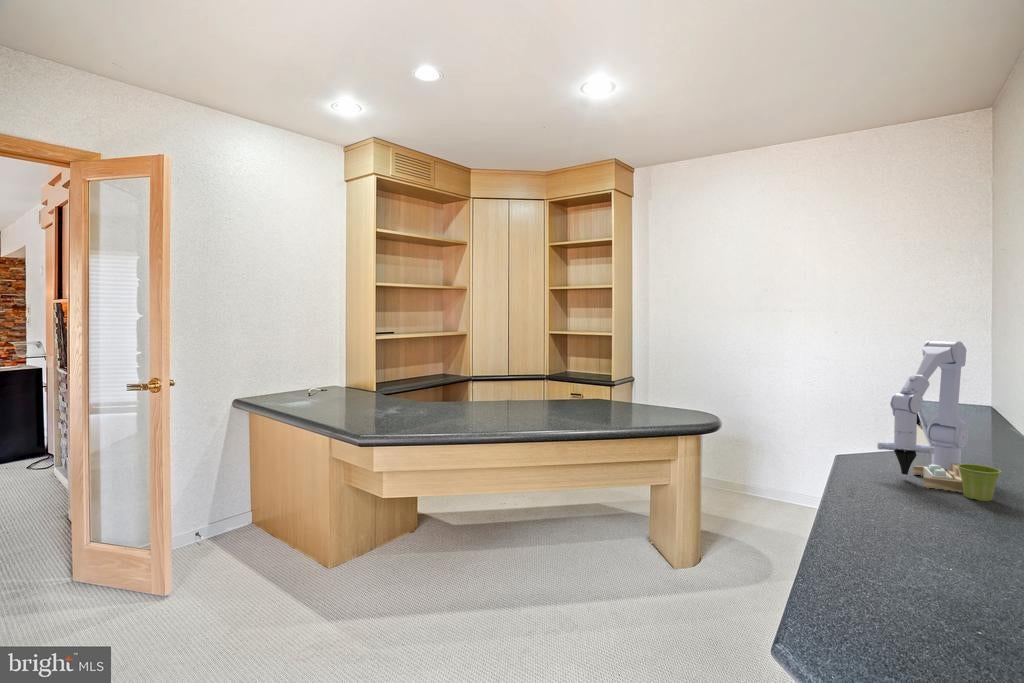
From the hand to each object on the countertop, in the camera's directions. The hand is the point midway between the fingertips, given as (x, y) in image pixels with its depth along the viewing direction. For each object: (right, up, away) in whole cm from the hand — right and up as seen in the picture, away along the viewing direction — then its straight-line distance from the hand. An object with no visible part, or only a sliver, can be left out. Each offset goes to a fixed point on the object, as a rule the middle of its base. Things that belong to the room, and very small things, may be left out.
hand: (904, 473), depth 172 cm
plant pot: (+7, -3, -18) cm, 20 cm away
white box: (+7, -2, -4) cm, 9 cm away
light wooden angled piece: (+9, -2, -4) cm, 10 cm away
